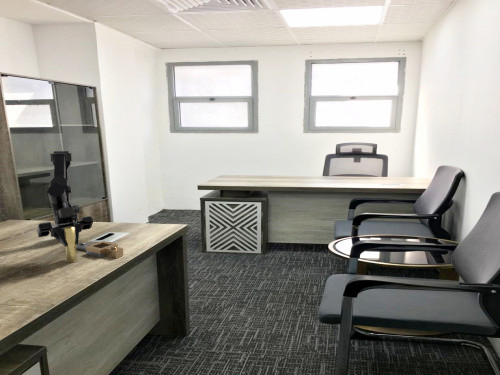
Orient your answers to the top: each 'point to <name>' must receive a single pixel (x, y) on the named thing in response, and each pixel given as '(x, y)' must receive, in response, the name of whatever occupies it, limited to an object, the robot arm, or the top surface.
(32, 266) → the top surface
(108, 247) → the square frame with handle
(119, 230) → the top surface
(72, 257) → the brass pin
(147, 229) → the top surface
